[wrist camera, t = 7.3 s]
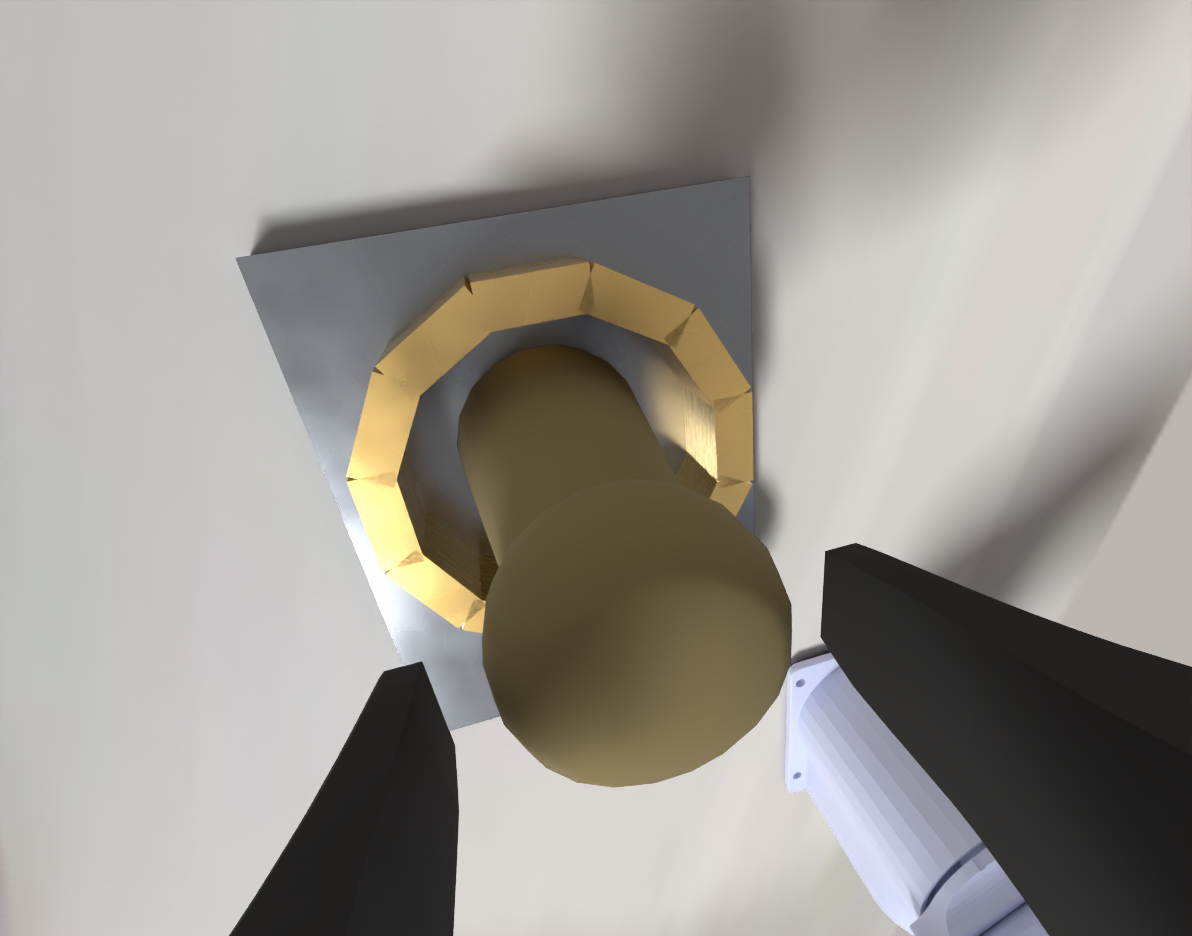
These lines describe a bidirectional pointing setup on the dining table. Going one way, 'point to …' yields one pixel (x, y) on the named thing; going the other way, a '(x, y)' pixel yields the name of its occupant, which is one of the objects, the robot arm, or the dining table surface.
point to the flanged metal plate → (484, 338)
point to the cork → (612, 580)
